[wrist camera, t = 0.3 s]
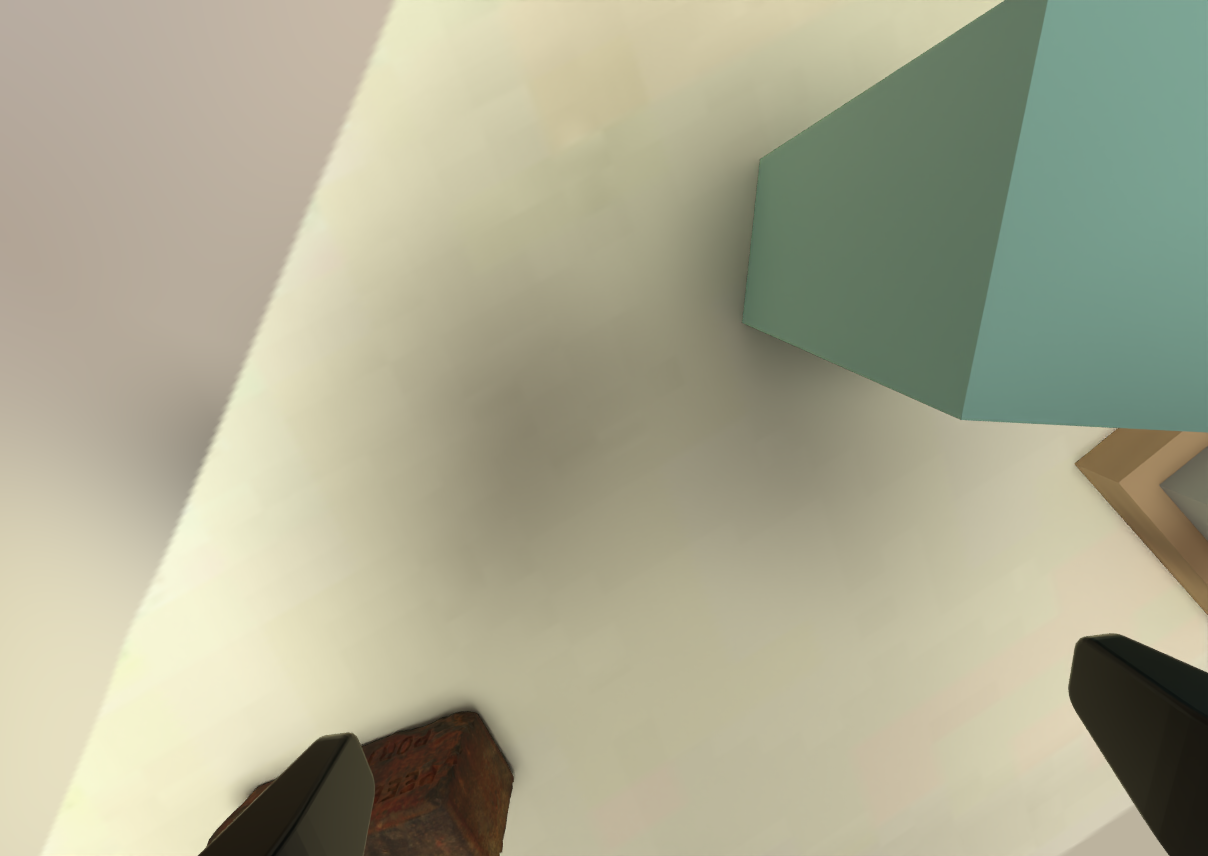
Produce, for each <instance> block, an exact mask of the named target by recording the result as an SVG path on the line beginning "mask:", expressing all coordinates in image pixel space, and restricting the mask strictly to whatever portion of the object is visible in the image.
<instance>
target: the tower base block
mask: <svg viewBox="0 0 1208 856" xmlns="http://www.w3.org/2000/svg"><path fill="white" fill-rule="evenodd" d="M1207 446H1208V433H1206V432H1187V431H1167V430H1148V429H1128V428H1118V429H1116V430H1115V431H1114V432H1113V433H1112V434H1110V435H1109V436H1108V437H1107V438H1105V439H1104V440H1103V441H1102V442H1101V443H1099V444H1098V445H1097V446H1096V447H1095V448H1093V449H1092V450H1091V451H1090V452H1088V453H1087V454H1086V455H1085V456H1084V457H1082V458H1081V459H1080V460H1079V461H1077V462H1076V463H1075V465H1076V466H1077V467H1078V468H1079V470H1080V471H1081V472H1082V473H1083V474H1084V475H1085V476H1086V477H1087V479H1088V480H1089V481H1090V482H1091V483H1092V484H1093V485H1094V487H1095V488H1096V489H1097V490H1098V491H1099V492H1100V493H1101V494H1102V496H1103V497H1104V498H1105V499H1106V500H1107V501H1108V502H1109V504H1110V505H1111V506H1112V507H1113V508H1114V509H1115V510H1116V511H1117V513H1118V514H1119V515H1120V516H1121V517H1122V518H1123V519H1124V521H1125V522H1126V523H1127V524H1128V525H1129V526H1130V527H1131V528H1132V530H1133V531H1134V532H1135V533H1136V534H1137V535H1138V536H1139V538H1140V539H1141V540H1142V541H1143V542H1144V543H1145V544H1146V545H1147V547H1148V548H1149V549H1150V550H1151V551H1152V552H1153V553H1154V555H1155V556H1156V557H1157V558H1158V559H1159V560H1160V561H1161V563H1162V564H1163V565H1164V566H1165V567H1166V568H1167V569H1168V570H1169V572H1170V573H1171V574H1172V575H1173V576H1174V577H1175V578H1176V580H1177V581H1178V582H1179V583H1180V584H1181V585H1182V586H1183V587H1184V589H1185V590H1186V591H1187V592H1188V593H1189V594H1190V595H1191V597H1192V598H1193V599H1194V600H1195V601H1196V602H1197V603H1198V604H1199V606H1200V607H1201V608H1202V609H1203V610H1204V611H1205V612H1206V614H1207V615H1208V541H1207V540H1206V539H1205V537H1204V536H1203V535H1202V534H1201V533H1200V532H1199V531H1198V529H1197V528H1196V527H1195V526H1194V525H1193V524H1192V523H1191V521H1190V520H1189V519H1188V518H1187V517H1186V516H1185V515H1184V513H1183V512H1182V511H1181V510H1180V509H1179V508H1178V507H1177V505H1176V504H1175V503H1174V502H1173V501H1172V500H1171V498H1170V497H1169V496H1168V495H1167V494H1166V493H1165V492H1164V490H1163V489H1162V488H1161V487H1160V486H1159V485H1160V484H1161V483H1162V482H1164V481H1165V480H1166V479H1167V478H1169V477H1170V476H1171V475H1172V474H1174V473H1175V472H1176V471H1177V470H1179V469H1180V468H1181V467H1182V466H1184V465H1185V464H1186V463H1187V462H1189V461H1190V460H1191V459H1192V458H1194V457H1195V456H1196V455H1197V454H1198V453H1200V452H1201V451H1202V450H1203V449H1205V448H1206V447H1207Z"/></svg>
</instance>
